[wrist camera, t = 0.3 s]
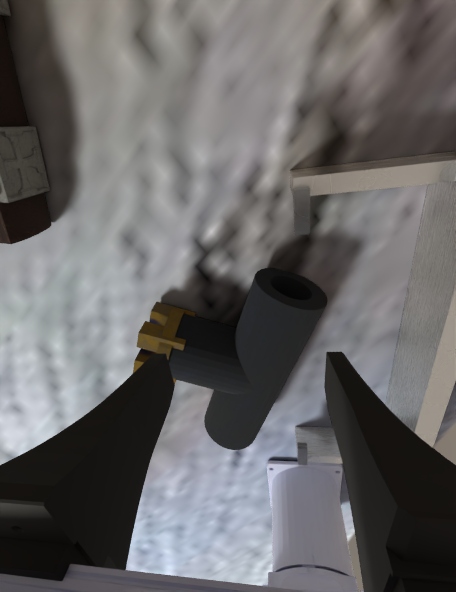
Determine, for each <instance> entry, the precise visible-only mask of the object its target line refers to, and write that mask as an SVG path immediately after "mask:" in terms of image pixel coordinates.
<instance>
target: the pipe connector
mask: <svg viewBox="0 0 456 592" xmlns="http://www.w3.org/2000/svg"><path fill="white" fill-rule="evenodd" d="M326 305H327V297H326V295H325V293H324V292H323V291H322V290H321V289H320V288H319V287H318V286H317V285H316V284H314V283H313V282H311V281H310V280H308V279H306V278H304V277H302V276H299V275H295V274H292V273H289V272H285V271H282V270H279V269H275V268H265V269H261V270H259V271H258V272H257V273H256V274H255V277H254V280H253V283H252V286H251V288H250V291H249V294H248V297H247V300H246V302H245V305H244V308H243V311H242V314H241V316H240V319H239V322H238V325H237V327H236V328H235V327H231V326H228V325H224V324H220V323H217V322H213V321H210V320H206V319H202V318H199V317H195V312H192V311H188V310H185V309H181V308H177V307H174V306H170V305H167V304H163V303H159V302H156V304H155V305H154V307H153V309H152V311H151V316H150V322H147V321H145V323H144V324H143V326H142V328H141V330H140V331H139V335H138V342H137V347H139V348H141V350H140V352H139V354H138V355H137V357H136V359H135V363H134V370H133V373H134V372H135V371H136V370H137V369H138V368H139V367H140V366H141V365H142V364H143V363H144V362H145V361H146V360H147V359H148V358H149V357H150V356H152V355H153V354H162V353H166V356H167V359H168V363H169V366H170V370H171V374H172V377H173V381H174V384H175V382H176V380H180V381H184V382H188V383H192V384H195V385H199V386H203V387H207V388H210V389H214V392H213V394H212V397H211V400H210V403H209V406H208V408H207V411H206V414H205V420H204V422H205V427H206V430H207V432H208V434H209V436H210V437H211V438H212V439H213V440H214V441H215V442H216V443H217V444H219V445H220V446H222V447H224V448H227V449H232V450H240V449H244V448H246V447H248V446H249V445H250V444H252V442H253V441H254V440H255V438H256V436H257V434H258V432H259V430H260V428H261V427H262V425H263V423H264V421H265V419H266V417H267V415H268V413H269V412H270V410H271V408H272V406H273V404H274V402H275V400H276V398H277V397H278V395H279V393H280V391H281V389H282V387H283V385H284V383H285V382H286V380H287V378H288V376H289V374H290V372H291V370H292V368H293V367H294V365H295V363H296V361H297V359H298V357H299V355H300V354H301V352H302V350H303V348H304V346H305V344H306V342H307V340H308V339H309V337H310V335H311V333H312V331H313V329H314V327H315V325H316V324H317V322H318V320H319V318H320V316H321V314H322V312H323V310H324V309H325V307H326ZM142 348H143V349H142Z"/></svg>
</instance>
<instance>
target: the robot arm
mask: <svg viewBox="0 0 456 592" xmlns="http://www.w3.org/2000/svg"><path fill="white" fill-rule="evenodd" d="M174 386H175V384H174V381H173V377H172V374H171V370H170V366H169V363H168V359H167V356H166V353H162V354H153V355H152V356H150V357H149V358H148V359H147V360H146V361H145V362H144V363H143V364H142V365H141V366H140V367H139V368H138V369H137V370H136V371H135V372H134V373H133V374H132V375H131V376H130V377H129V378H128V379H127V380H126V381H125V382H124V383H123V384H122V385H121V386H120V387H119V388H117V389H116V390H115V391H114V392H113V393H112V394H111V395H110V396H108V397H107V398H106V399H105V400H104V401H103V402H101V403H100V404H99V405H98V406H97V407H95V408H94V409H93V410H91V411H90V412H89V413H87V414H86V415H85V416H83V417H82V418H81V419H79V420H78V421H76V422H75V423H73V424H72V425H70V426H69V427H67V428H66V429H64V430H63V431H61V432H60V433H58V434H57V435H55V436H54V437H52V438H50V439H49V440H47V441H45V442H44V443H42V444H40V445H38V446H37V447H35V448H33V449H31V450H29V451H28V452H26V453H24V454H22V455H20V456H18V457H16V458H14V459H12V460H10V461H8V462H6V463H4V464H2V465H0V592H358V587H357V581H356V577H354V574H353V568H352V563H351V558H350V552H349V547H348V541H347V536H346V531H345V525H344V520H343V515H342V509H341V504H340V490H341V481H342V472H343V468H342V465H341V464H337V463H313V462H307V465H298V462H295V461H268V462H267V474H268V484H269V493H270V503H271V507H272V555H273V572H269V573H268V585H262V586H257V585H248V584H240V583H231V582H223V581H214V580H205V579H197V578H188V577H179V576H171V575H162V574H153V573H145V572H136V571H127V570H125V569H126V564H127V559H128V553H129V548H130V543H131V538H132V533H133V528H134V524H135V519H136V515H137V510H138V506H139V502H140V498H141V493H142V489H143V485H144V481H145V478H146V474H147V470H148V466H149V463H150V460H151V457H152V453H153V451H154V448H155V445H156V443H157V440H158V437H159V435H160V432H161V429H162V427H163V424H164V421H165V418H166V416H167V413H168V410H169V407H170V404H171V400H172V396H173V391H174ZM325 393H326V400H327V406H328V411H329V415H330V419H331V422H332V426H333V430H334V433H335V437H336V441H337V444H338V448H339V451H340V455H341V459H342V463H343V467H344V471H345V476H346V482H347V488H348V493H349V499H350V505H351V511H352V517H353V523H354V529H355V535H356V541H357V547H358V554H359V561H360V567H361V574H362V581H363V588H364V591H360V592H456V465H455V464H453V463H452V462H451V461H449V460H447V459H446V458H445V457H444V456H442V455H441V454H440V453H439V452H437V451H436V450H435V449H434V448H432V447H431V446H430V445H429V444H427V443H426V442H425V441H423V440H422V439H421V438H420V437H419V436H418V435H416V434H415V433H414V432H413V431H412V430H411V429H410V428H408V427H407V426H406V425H405V424H404V423H403V422H402V421H401V420H400V419H399V418H398V417H397V416H396V415H395V414H394V413H393V412H392V411H391V410H390V409H389V408H388V407H387V406H386V405H385V404H384V403H383V402H382V401H381V400H380V399H379V398H378V397H377V395H376V394H375V393H374V392H373V391H372V390H371V389H370V387H369V386H368V385H367V384H366V383H365V381H364V380H363V379H362V378H361V377H360V375H359V374H358V373H357V371H356V370H355V369H354V367H353V366H352V365H351V363H350V362H349V361H348V359H347V358H346V356H345V355H344V354H343V353H342V352H327V355H326V371H325Z"/></svg>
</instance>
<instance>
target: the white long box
mask: <svg viewBox="0 0 456 592" xmlns="http://www.w3.org/2000/svg"><path fill="white" fill-rule="evenodd" d="M424 184H428V186H427V192H426V197H425V202H424V207H423V212H422V217H421V223H420V228H419V233H418V238H417V243H416V248H415V254H414V259H413V264H412V269H411V274H410V279H409V285H408V290H407V295H406V300H405V305H404V310H403V316H402V321H401V326H400V331H399V336H398V341H397V347H396V352H395V357H394V362H393V367H392V372H391V378H390V383H389V388H388V393H387V398H386V403H385V405H386V406H387V407H388V408H389V409H390V410H391V411H392V412H393V413H394V414H395V415H396V416H397V417H398V418H399V419H400V420H401V421H402V422H403V423H404V424H405V425H406V426H407V427H408V428H410V429H411V430H412V431H413V432H414V433H415V434H416V435H418V436H419V437H420V438H421V439H422V440H423V441H425V442H426V443H427V444H429V445H430V446H431V447H432V448H433V446H434V443H435V440H436V437H437V434H438V431H439V428H440V425H441V422H442V419H443V417H444V414H445V411H446V408H447V405H448V402H449V399H450V396H451V393H452V390H453V387H454V384H455V381H456V151H452V152H443V153H435V154H426V155H417V156H409V157H400V158H391V159H383V160H374V161H365V162H357V163H348V164H340V165H331V166H322V167H314V168H305V169H296V170H290V188H291V191H292V194H293V197H294V234H295V235H303V234H310V196H315V195H324V194H334V193H344V192H354V191H364V190H374V189H384V188H394V187H404V186H414V185H424ZM295 435H296V446H297V458H298V465H307V462H313V463H337V464H343V463H342V459H341V455H340V451H339V448H338V444H337V441H336V437H335V433H334V430H333V428H331V427H295Z"/></svg>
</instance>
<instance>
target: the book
mask: <svg viewBox="0 0 456 592" xmlns="http://www.w3.org/2000/svg"><path fill="white" fill-rule="evenodd" d="M2 15H3V16H11V14H10V10H9V5H8V1H7V0H0V243H6V244H13V243H16V242H19V241H22V240H25V239H28V238H30V237H32V236H34V235H37V234H39V233H41V232H43V231H44V230H46V229H48V228H49V227H50V226H51V221H50V217H49V212H48V208H47V204H46V200H45V195H44V192H46V191H50V188H49V184H48V179H47V175H46V170H45V166H44V161H43V157H42V153H41V148H40V144H39V139H38V135H37V130H36V127H31V126H28V123H27V119H26V114H25V110H24V106H23V102H22V97H21V93H20V89H19V85H18V80H17V76H16V72H15V68H14V63H13V59H12V55H11V51H10V46H9V42H8V38H7V33H6V29H5V25H4V21H3V16H2Z"/></svg>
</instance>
